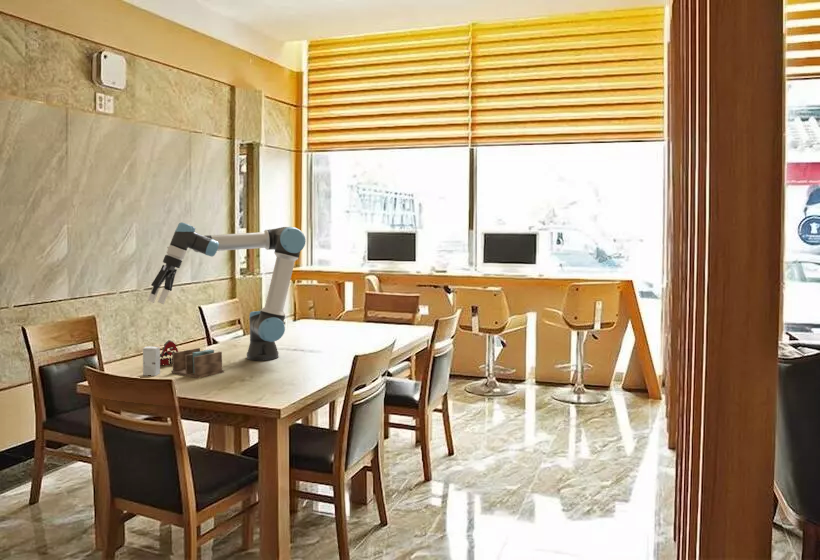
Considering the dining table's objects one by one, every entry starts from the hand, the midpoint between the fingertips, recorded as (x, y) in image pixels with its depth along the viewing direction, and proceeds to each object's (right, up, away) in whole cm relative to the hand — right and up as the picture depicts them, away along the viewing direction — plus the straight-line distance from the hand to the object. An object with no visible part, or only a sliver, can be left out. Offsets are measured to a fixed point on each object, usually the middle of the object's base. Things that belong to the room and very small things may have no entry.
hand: (155, 302), depth 308 cm
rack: (+17, -31, +4) cm, 36 cm away
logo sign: (-1, -30, +22) cm, 37 cm away
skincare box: (-2, -32, +1) cm, 32 cm away
